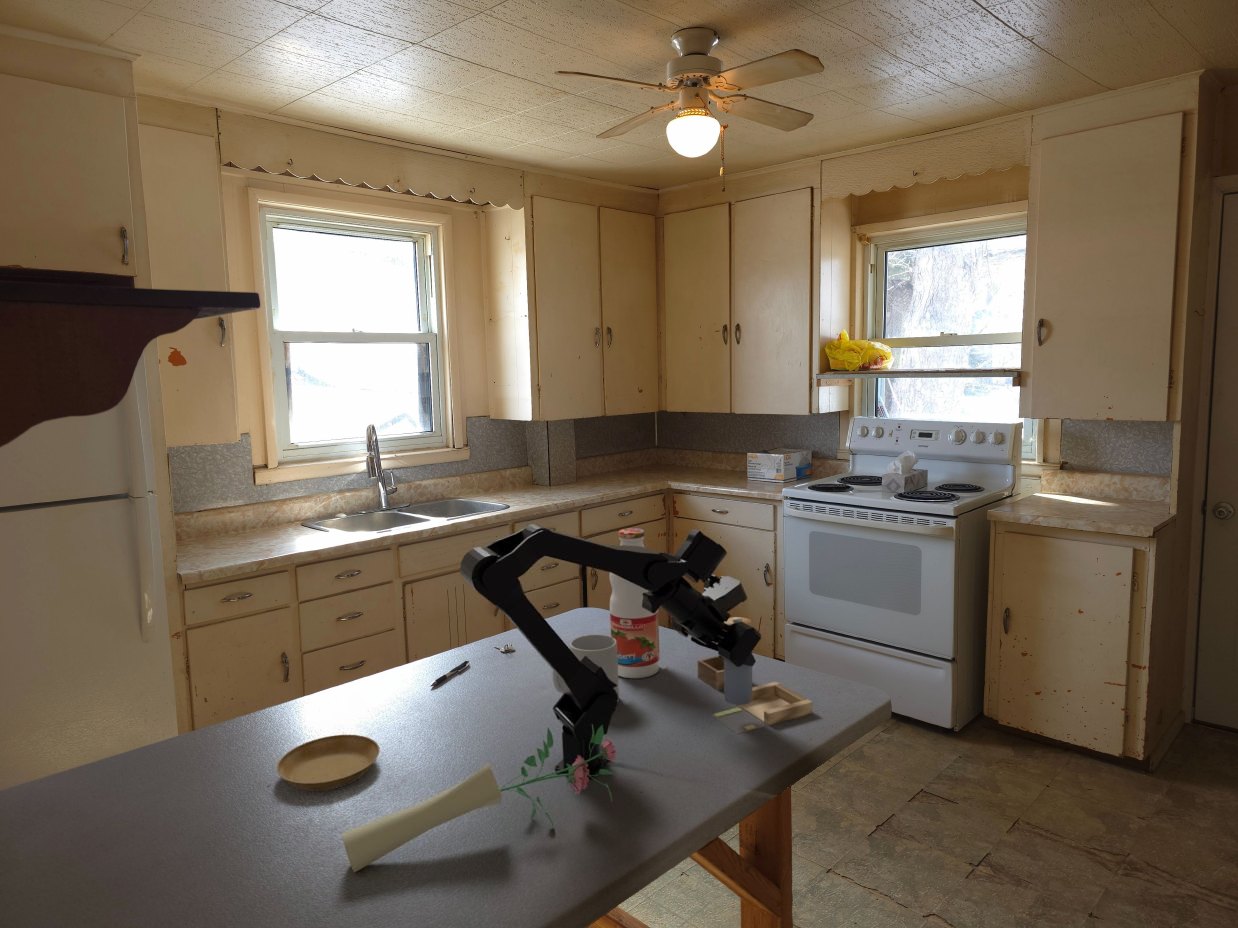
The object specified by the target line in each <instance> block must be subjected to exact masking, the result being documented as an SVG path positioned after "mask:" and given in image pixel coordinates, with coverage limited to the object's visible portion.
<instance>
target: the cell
mask: <svg viewBox="0 0 1238 928" xmlns="http://www.w3.org/2000/svg"><path fill="white" fill-rule="evenodd" d="M737 622H743V623H745V624H747V625H749V626H752V627H753V625H752V623H753V622H752V620H751V619H750V618H746V617H740V616H738V617H737V616H734V617H732V616H731V617H730V618H729V619H728V620H727V622H726V621H725V622H724V623H725V624H727V625H729V626H730V625H731V624H734V623H737ZM724 631H725V630H724ZM726 632H727V631H726ZM752 687H753V666H748V665H744V664H742V666H739V667H736V666H734V665H733V664H731V663H729V662H728V661H726V660H724V690H723V691H724V692H723V693H724V694H723V695H724V701H726V703H727V704H728V703H729V704H731V705H736V706H737V705H744V704H748V703H750V702H752V700H753V693H752Z"/></svg>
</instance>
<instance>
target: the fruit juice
mask: <svg viewBox="0 0 1238 928" xmlns="http://www.w3.org/2000/svg"><path fill="white" fill-rule="evenodd" d="M644 539H645V530H644V529H642V528H638V527H637V528H635V527H631V528H623V529H620V530H619V531H618V540H619V541H620V542H619V543H620V544H619V546H621V545H627V546H641V547H645V545H644ZM609 582H610V587H611V595H610V598H609V617H610V619H609V620H610V621H609V623H610V637H612V638H614V639H615V640H616V641H617V657H618V677H621V678H626V679H644V678H649V677H652V676H654V675H656V674H657V673H658V672H659V670H660V667H661V663H660V662H661V661H660V660H661V659H660V657H661V656H660V632H659V631H660V628H659V609H658V610H657V611H656V613H651V612H649V611H648V610H646V609H644V608H643V607H642V600H643V595H642V594H643V593H645V592H648V590H646V589H644V588H642V587H640V586H638V585H636V584H634V583H631V582H629V581H627V580H625V579H623V578H621V577H619V576H617V575H615V574H613V573H611V572H609Z"/></svg>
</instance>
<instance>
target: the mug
mask: <svg viewBox="0 0 1238 928" xmlns="http://www.w3.org/2000/svg"><path fill="white" fill-rule="evenodd" d="M569 649H570V650H571V651H572V652H573V654H574V655H575V656H576V657H577V658H578V660H579V661H581V660H582V659H583V657H584V656H585V655H587V656H588V657H589V658H590V659H592V660H593V661H594V662H596V663H597V664H598V665H599V666H601V667H602V669H603V670H604V672H605V673H606V675H607V677H608V678H609V679H610V680H612V681H613V682H614V683H615V684H617V687H614V689H615V691H616V692H617V694H618V698H619V699H618V703H619V701H620V689H619V676H618V657H617V641H616V640H615V639H614V638H612V637H611V635H604V634H587V635H586V634H585V635H582V636H578V637H575V638H574V639H572V640H571V641H570V643H569ZM552 682H553V686H554V689H555V690H556V691H557V692H558V693H560V694H564V693H565V692H564V690H563V689H562V687H561V685H560V683H559V680H558V677H557V675H556V673H555V672H554V670H553V669H552Z"/></svg>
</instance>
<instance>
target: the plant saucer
mask: <svg viewBox="0 0 1238 928" xmlns="http://www.w3.org/2000/svg"><path fill="white" fill-rule="evenodd" d="M380 752H381V751H380V746H379V744H378V743H377V741H375V740H374V739H372V738H370V737H367V736H363V735H358V734H338V735H337V734H336V735H329V736H324V737H320V738H315V739H313V740H312V739H311V740H310V741H307V742H305V743H302V744H300V745H298V746H295V747H294V748H292V749H290V750H289V751H288V752H287V753H285V754H284V755H283V756H281V758H280V759H279V760H278V762H277V765H276V773H277V774H278V776H279V777H280V778H281V779H282V780H284V781H285V783H288V784H289V785H290V786H291V787H292V786H293V787H294V788H296V789H299V790H303V791H307V792H323V791H329V790H335V789H338V788H341V786H342V787H344V785H345V786H347V785H350V784H351V783H353V782H355V781H356V780H358V779H359V777H360V778H361V777H362V776H363V775H364V774H366V772H368V770H370V768H371V767H372V766H373V764H374V763H375V762H376V761H377V759H378V757H379V755H380ZM337 787H338V788H337ZM334 788H335V789H334Z"/></svg>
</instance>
